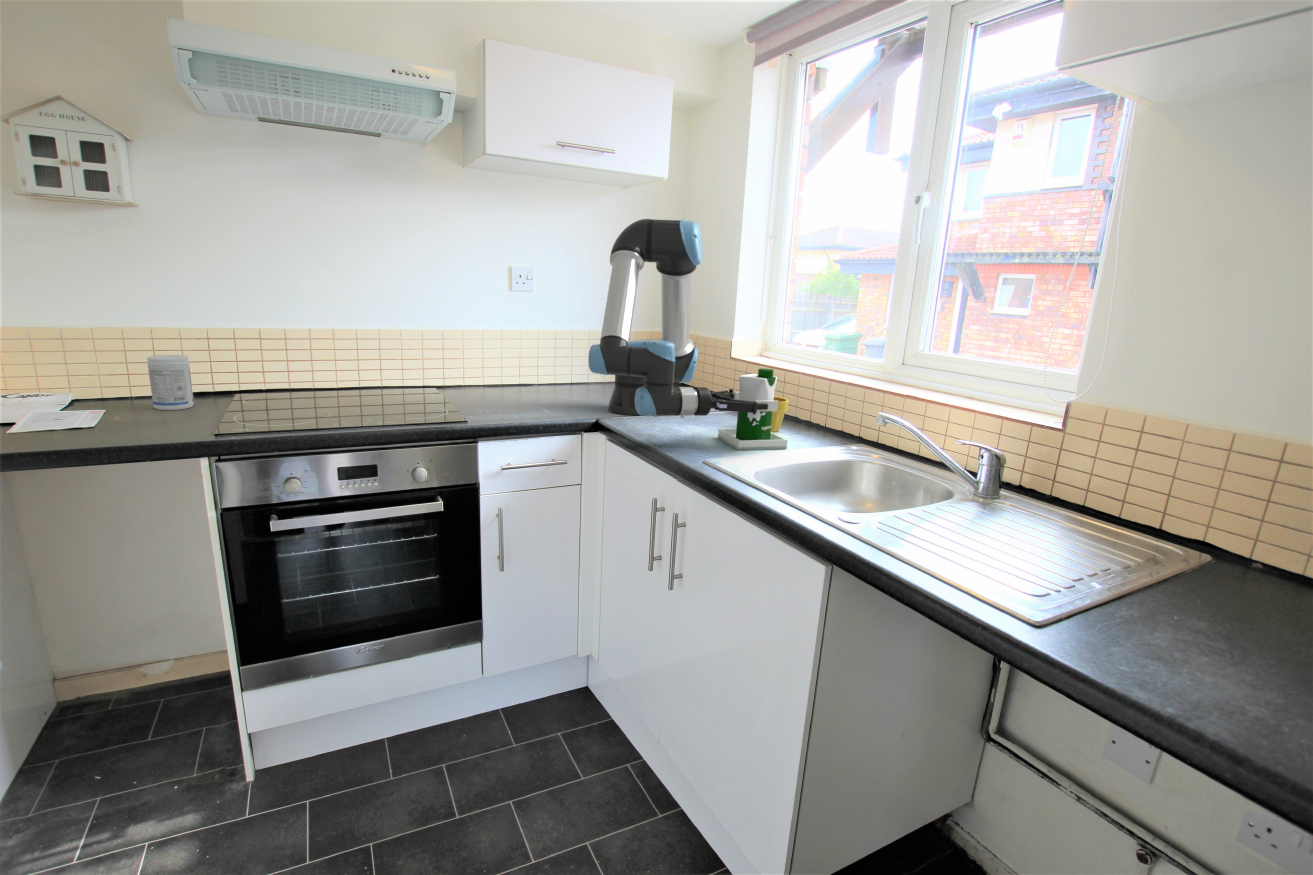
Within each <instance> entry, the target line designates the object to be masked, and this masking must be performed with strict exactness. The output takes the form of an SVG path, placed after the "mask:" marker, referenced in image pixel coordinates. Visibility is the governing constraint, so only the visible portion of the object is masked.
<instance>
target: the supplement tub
mask: <svg viewBox="0 0 1313 875" xmlns="http://www.w3.org/2000/svg"><path fill="white" fill-rule="evenodd" d="M146 359H147V369H148V370H147V371H148V377H149V384H150V385H149V386H150V391H151V399H152V406H153V408H154V409H155V410H160V411H177V410H179V411H180V410H181V411H182V410H186V409H190V408H192V407H193V406H194V404H195V403H194V402H195V401H194V400H195V399H194V393H193V384H192V376H191V369H190V368H191V367H190V360H189V356H187V355H183V354H160V355H159V354H158V355H151V356H148V357H147V358H146Z"/></svg>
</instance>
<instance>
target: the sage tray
mask: <svg viewBox="0 0 1313 875" xmlns="http://www.w3.org/2000/svg"><path fill="white" fill-rule="evenodd" d="M717 431H718V433H717V435H718V436H717V438H718V439H720V440H721V441H722V442H725V443H726V444H728V445H729V446H731V447H732V448H734V449H736V450H737V451H757V450H758V451H760V450H761V451H762V450H764V451H765V450H787V449H788V446H787V445H788V439H786V438H784V437H783V436H781V435H778V434H776V432H771V434H770V440H741V441H740V440H738V439H737V438H736V428H718V430H717Z"/></svg>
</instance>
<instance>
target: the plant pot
mask: <svg viewBox="0 0 1313 875" xmlns="http://www.w3.org/2000/svg"><path fill="white" fill-rule="evenodd" d="M773 401H778V411H772V421H771V432H773V433H777V432H779V431H780V430H781V429H780V428H781V425H782V422H783V420H784V417H785V413H786V412H788V408H789V399H788V398H786V397H783V396H782V397H781V396H776V395H774V400H773Z"/></svg>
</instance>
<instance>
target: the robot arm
mask: <svg viewBox="0 0 1313 875" xmlns="http://www.w3.org/2000/svg"><path fill="white" fill-rule="evenodd" d="M702 249H703V248H702V234H701V229H700V226H699V224H698V223H697V222H695V221H691V220H690V221H689V220H684V219H681V220H678V219H677V220H676V219H675V220H674V219H651V218H642V219H639V220H636V221H634V222H632V223H631V224H629V225H628V226H626V227H625V228H624V229H623V230H622V231H621V232H620V234H618V237H616V239H615V242H614V243H613V245H612V248H611V252H610V256H609V264H610V265H611V272H610V278H609V285H608V291H607V297H606V304H605V309H604V310H605V311H604V314H603V315H604V317H603V321H602V327H601V335H600V338H599V339H600V342H599V343H597V344H592V345H591V346H590V349H589V352H588V368H589V370H590V372H591V373H593V374H599V375H605V376H608V375H609V376H614V389H613V391H612V394H611V397H610V399H609V402H608V411H609V412H611V413H614V414H619V415H628V416H629V415H630V416H647V417H654V418H655V417H671V416H672V417H676V416H677V417H678V416H680V418H681V419H683V418H684V417H685V416H696V417H698V416H704V417H705V416H708V415H709V413H711V412H710V411H711V410H712V409H714V410H716V411H719V412H722V411H723V412H735V413H738V412H748V413H753V415H755V414H756V413H757V411H778V401H754V402H752V401H743V400H739V392H740V391H734V389H733V388H732V389H731V388H729V389H728V390H719V391H710V389H709V388H708V387H704V386H698V387H697V386H695V387H692V386H678V387H674V384H675V383H677V384H681V383H682V384H683V383H684V384H689V383H691V382H693V380H694V377H695V372H696V366H697V361H698V355H699V348H697V347H695V345H694V341H693V340H692V339H691V338H690V324H691V323H690V322H691V321H690V320H691V316H690V315H691V289H692V288H691V286H692V284H691V282H692V281H691V280H692V274H693V273H695V271H696V269H697V266H698V265H701V263H702V261H703V260H702V258H703V253H702V252H703V250H702ZM645 263H655V264H656V265H655V266H656V268H655V269H656V270H657V272H658V273H659V274H661V338H660V339H659V340H656V339H655V340H650V339H645V340H643V339H642V340H641V339H640V340H631V339H630V338H631V332H632V327H633V326H632V325H633V317H634V311H635V303H636V297H637V290H638V281H639V276H640V275H639V274H640V271H642V270H643V269H644V266H645Z"/></svg>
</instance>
